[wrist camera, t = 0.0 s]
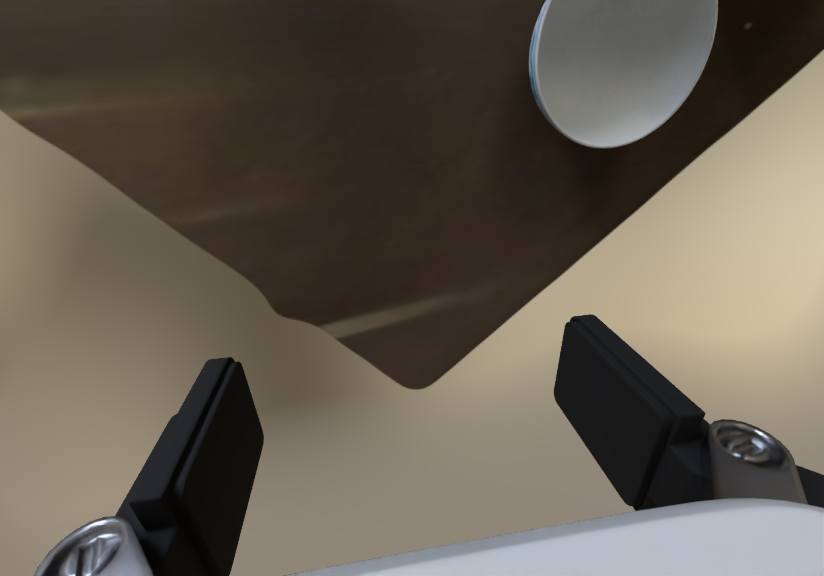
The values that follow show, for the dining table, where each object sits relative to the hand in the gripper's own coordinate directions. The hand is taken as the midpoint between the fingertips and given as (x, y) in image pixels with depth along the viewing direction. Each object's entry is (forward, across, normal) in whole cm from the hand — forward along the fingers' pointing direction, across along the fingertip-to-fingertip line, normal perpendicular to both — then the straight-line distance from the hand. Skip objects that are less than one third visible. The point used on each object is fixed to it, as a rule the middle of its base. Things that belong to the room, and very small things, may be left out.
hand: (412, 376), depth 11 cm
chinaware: (+31, -21, -10) cm, 39 cm away
